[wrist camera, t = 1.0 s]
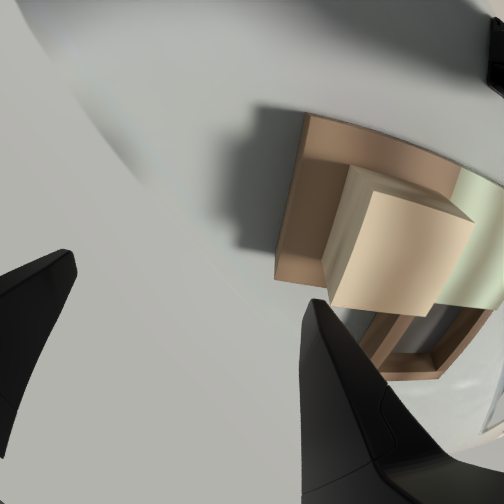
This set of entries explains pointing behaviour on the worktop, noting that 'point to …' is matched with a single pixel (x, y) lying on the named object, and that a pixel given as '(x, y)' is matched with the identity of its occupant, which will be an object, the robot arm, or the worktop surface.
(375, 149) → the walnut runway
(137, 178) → the worktop surface
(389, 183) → the beech block
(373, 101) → the worktop surface
